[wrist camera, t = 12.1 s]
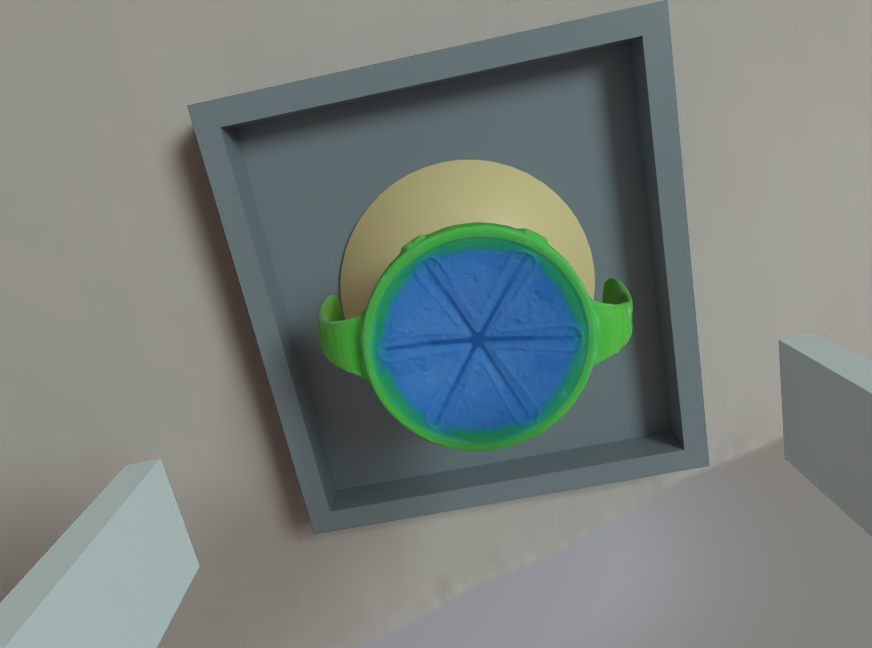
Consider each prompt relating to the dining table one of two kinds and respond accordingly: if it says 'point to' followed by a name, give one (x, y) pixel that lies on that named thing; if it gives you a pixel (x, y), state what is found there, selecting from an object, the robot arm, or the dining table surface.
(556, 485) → the tray
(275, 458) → the dining table surface
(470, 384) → the snack cup
